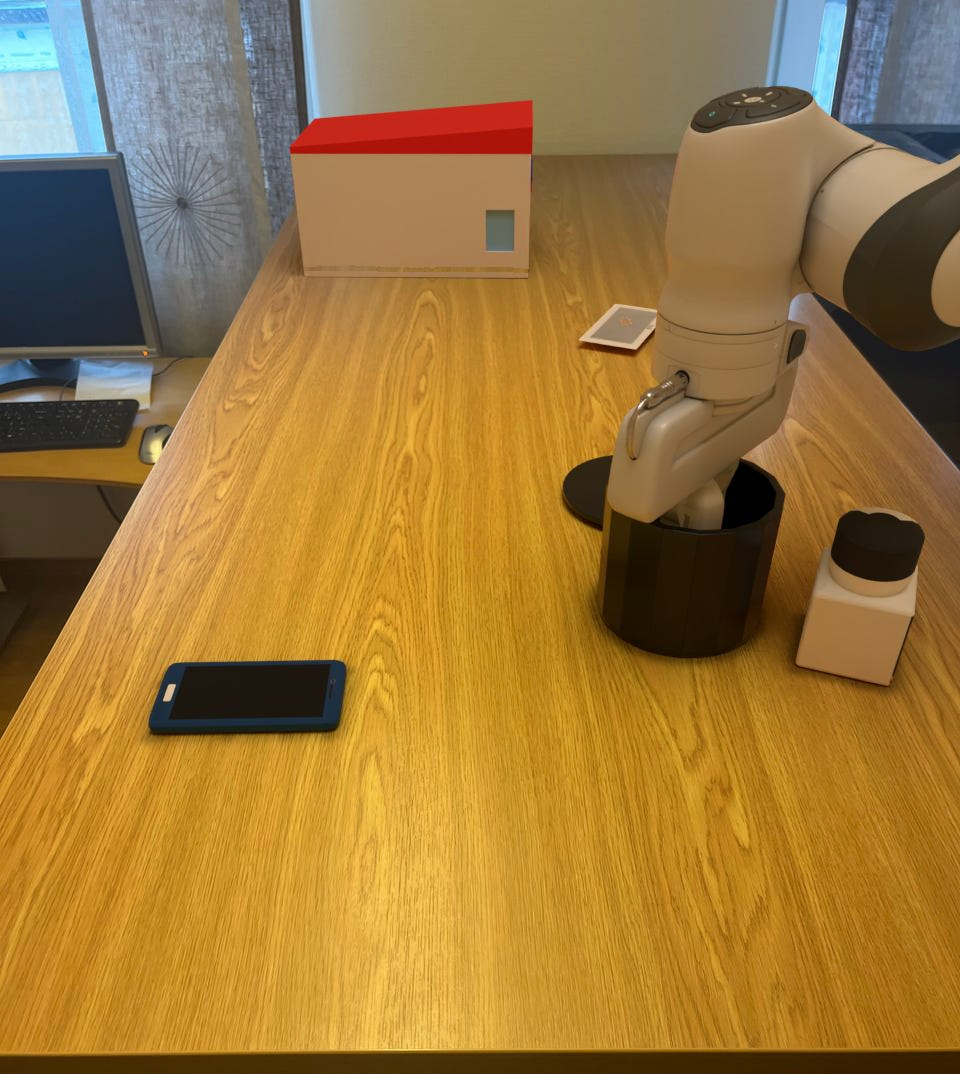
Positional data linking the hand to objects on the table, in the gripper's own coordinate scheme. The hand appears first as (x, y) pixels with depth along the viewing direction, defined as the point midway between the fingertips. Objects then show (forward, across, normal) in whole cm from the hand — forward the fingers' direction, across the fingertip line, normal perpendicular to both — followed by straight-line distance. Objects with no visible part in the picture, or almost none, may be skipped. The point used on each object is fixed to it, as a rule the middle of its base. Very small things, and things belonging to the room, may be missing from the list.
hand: (691, 521), depth 77 cm
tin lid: (+8, +13, +13) cm, 20 cm away
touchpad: (+9, +49, +39) cm, 63 cm away
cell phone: (+8, -31, +18) cm, 37 cm away
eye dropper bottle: (+5, 0, 0) cm, 5 cm away
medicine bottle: (+9, +4, -13) cm, 16 cm away
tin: (+8, 0, 0) cm, 9 cm away
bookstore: (+9, +56, +83) cm, 100 cm away
